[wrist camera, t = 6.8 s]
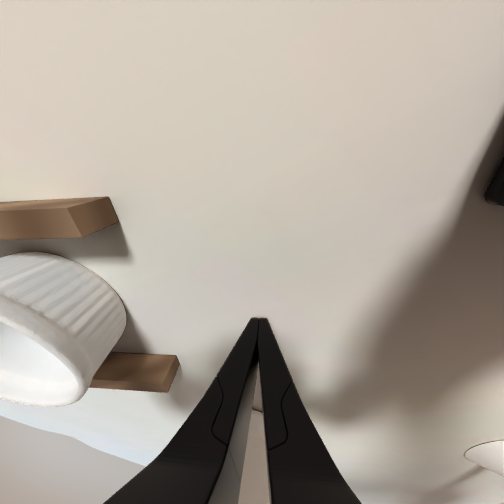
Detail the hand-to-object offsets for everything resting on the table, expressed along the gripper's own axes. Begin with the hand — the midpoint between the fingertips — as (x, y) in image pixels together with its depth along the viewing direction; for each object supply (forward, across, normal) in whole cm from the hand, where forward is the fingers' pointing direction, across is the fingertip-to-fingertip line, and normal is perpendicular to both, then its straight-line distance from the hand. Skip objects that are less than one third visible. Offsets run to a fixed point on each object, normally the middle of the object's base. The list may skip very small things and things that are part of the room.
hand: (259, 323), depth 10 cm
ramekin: (+2, +13, 0) cm, 13 cm away
